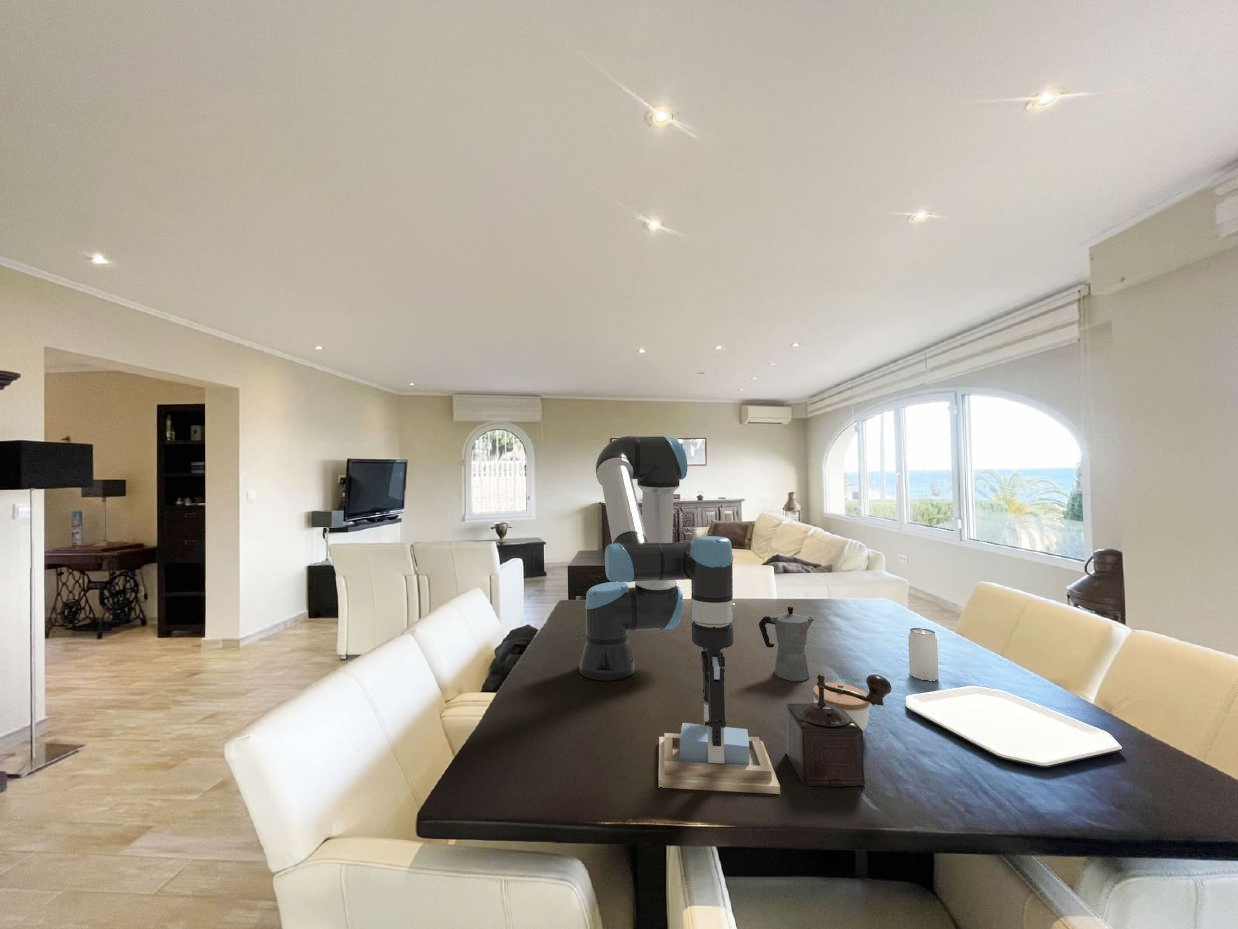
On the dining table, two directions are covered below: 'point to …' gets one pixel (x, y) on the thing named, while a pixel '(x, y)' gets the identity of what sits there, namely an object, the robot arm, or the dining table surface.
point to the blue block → (697, 744)
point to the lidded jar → (847, 702)
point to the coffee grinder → (829, 737)
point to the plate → (1012, 726)
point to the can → (923, 654)
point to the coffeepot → (789, 644)
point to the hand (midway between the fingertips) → (713, 749)
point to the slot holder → (716, 770)
